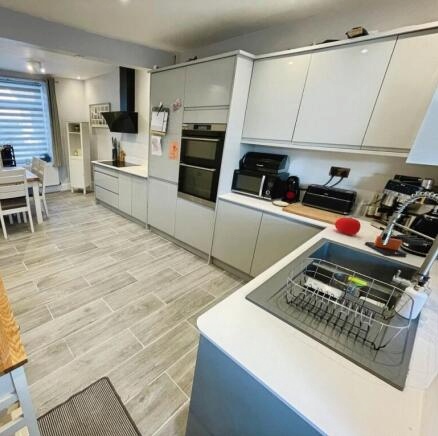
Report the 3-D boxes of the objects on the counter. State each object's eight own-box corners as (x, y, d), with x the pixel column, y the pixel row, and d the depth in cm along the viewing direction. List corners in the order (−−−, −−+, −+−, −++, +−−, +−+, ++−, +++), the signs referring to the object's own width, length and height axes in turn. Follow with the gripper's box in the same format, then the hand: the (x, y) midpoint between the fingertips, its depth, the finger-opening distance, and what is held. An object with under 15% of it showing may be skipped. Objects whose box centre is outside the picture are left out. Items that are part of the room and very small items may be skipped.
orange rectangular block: (396, 249, 142) (401, 239, 140) (397, 250, 141) (402, 240, 139) (373, 244, 146) (377, 235, 144) (374, 246, 145) (378, 236, 142)
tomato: (351, 238, 159) (357, 222, 155) (329, 230, 171) (334, 215, 167) (361, 235, 165) (367, 220, 161) (339, 228, 176) (344, 213, 172)
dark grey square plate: (409, 257, 137) (410, 254, 136) (382, 255, 137) (384, 252, 136) (385, 245, 151) (386, 242, 150) (361, 243, 151) (362, 240, 151)
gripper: (437, 251, 139) (396, 248, 140) (414, 241, 152) (377, 239, 152) (443, 240, 137) (402, 236, 137) (420, 230, 149) (382, 228, 149)
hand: (389, 238), depth 144 cm, fingers closed
